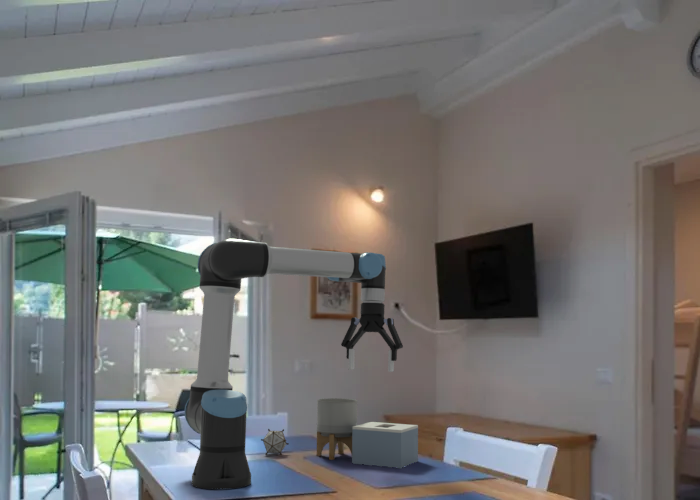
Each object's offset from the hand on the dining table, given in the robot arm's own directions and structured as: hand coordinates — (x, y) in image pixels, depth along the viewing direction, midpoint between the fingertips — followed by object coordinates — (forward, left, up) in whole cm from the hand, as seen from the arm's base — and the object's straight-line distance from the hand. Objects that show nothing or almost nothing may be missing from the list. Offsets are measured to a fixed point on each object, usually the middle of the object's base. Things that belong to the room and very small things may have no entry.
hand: (370, 370), depth 220 cm
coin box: (+3, -4, -28) cm, 28 cm away
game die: (-2, +33, -28) cm, 43 cm away
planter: (+5, +14, -28) cm, 32 cm away
